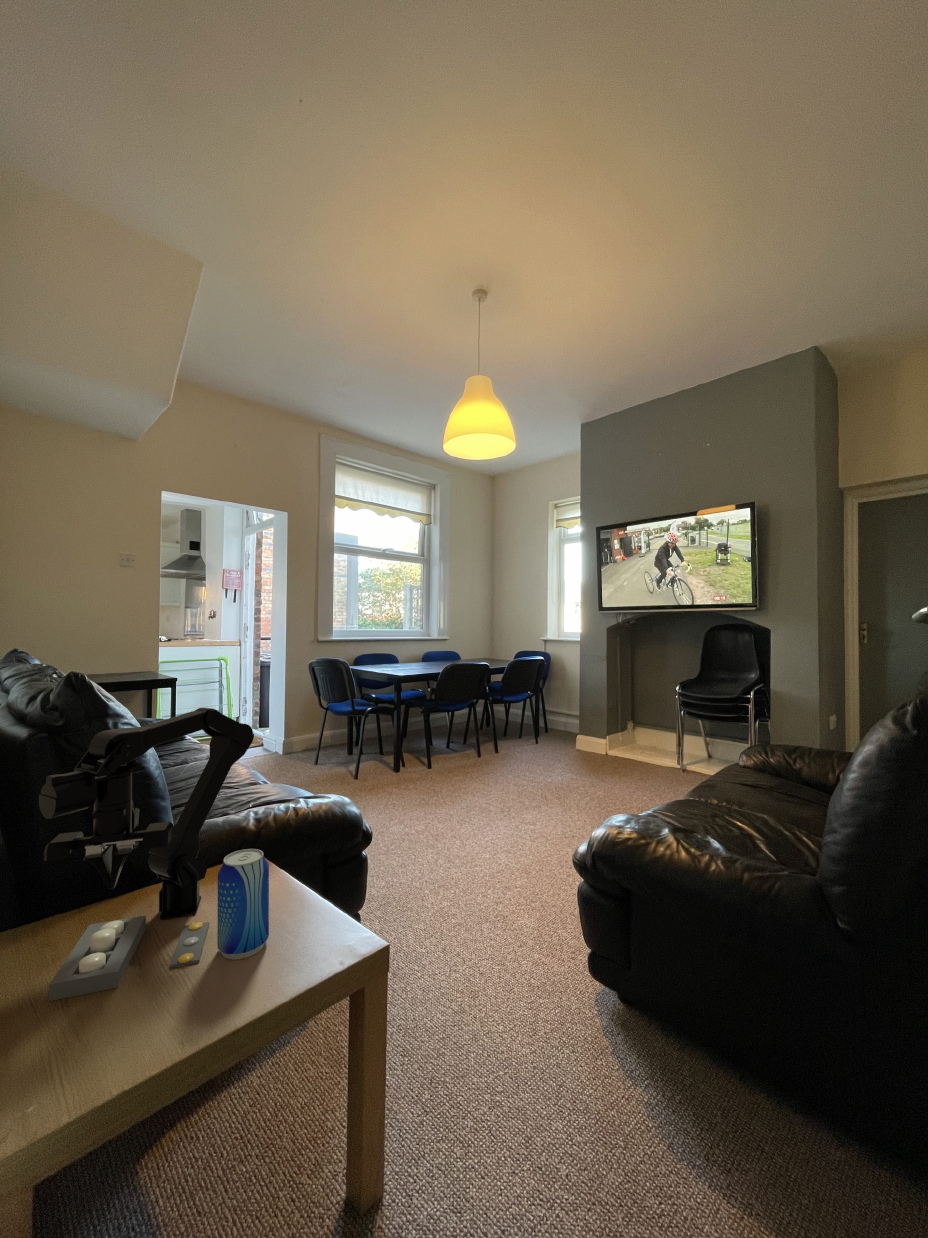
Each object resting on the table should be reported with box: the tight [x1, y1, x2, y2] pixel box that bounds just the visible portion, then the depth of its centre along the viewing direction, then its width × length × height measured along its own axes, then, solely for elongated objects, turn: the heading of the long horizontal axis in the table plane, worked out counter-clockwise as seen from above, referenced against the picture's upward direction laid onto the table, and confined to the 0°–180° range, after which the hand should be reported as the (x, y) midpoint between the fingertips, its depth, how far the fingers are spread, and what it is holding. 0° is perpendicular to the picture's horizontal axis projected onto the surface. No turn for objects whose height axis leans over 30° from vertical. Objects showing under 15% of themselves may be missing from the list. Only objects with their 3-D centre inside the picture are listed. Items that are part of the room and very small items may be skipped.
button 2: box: [100, 920, 124, 936], centre depth 93 cm, size 4×4×2 cm
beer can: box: [216, 848, 270, 961], centre depth 92 cm, size 8×8×16 cm
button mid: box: [90, 928, 115, 954], centre depth 88 cm, size 4×4×2 cm
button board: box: [48, 915, 147, 1002], centre depth 88 cm, size 9×17×2 cm, turn 19°
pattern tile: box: [169, 921, 210, 969], centre depth 92 cm, size 4×12×1 cm, turn 19°
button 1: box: [79, 952, 106, 974], centre depth 83 cm, size 4×4×2 cm
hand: (112, 888), depth 93 cm, fingers closed
